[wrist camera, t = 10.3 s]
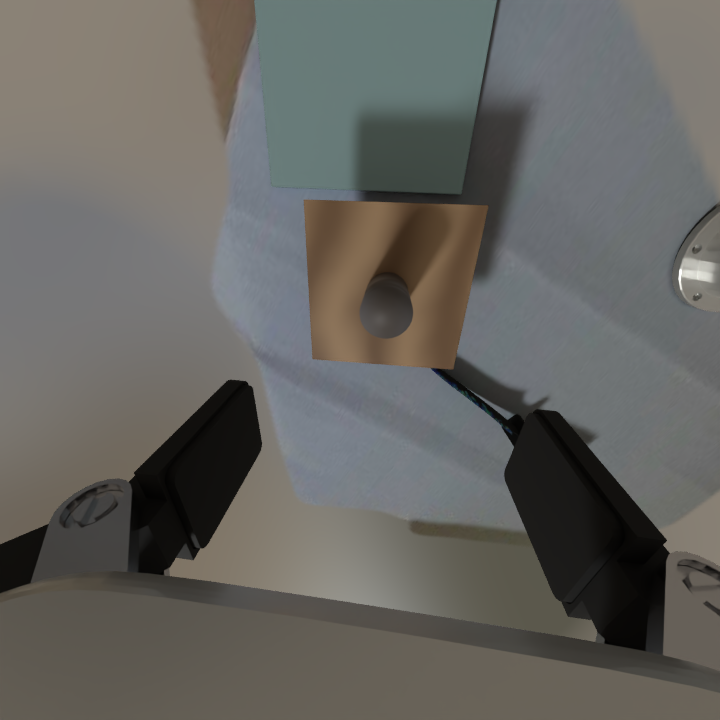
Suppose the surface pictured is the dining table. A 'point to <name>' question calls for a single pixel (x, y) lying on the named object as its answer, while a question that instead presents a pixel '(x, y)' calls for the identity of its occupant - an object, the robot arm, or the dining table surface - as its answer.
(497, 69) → the dining table surface
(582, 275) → the dining table surface
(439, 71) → the mat
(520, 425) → the knife
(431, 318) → the lid
